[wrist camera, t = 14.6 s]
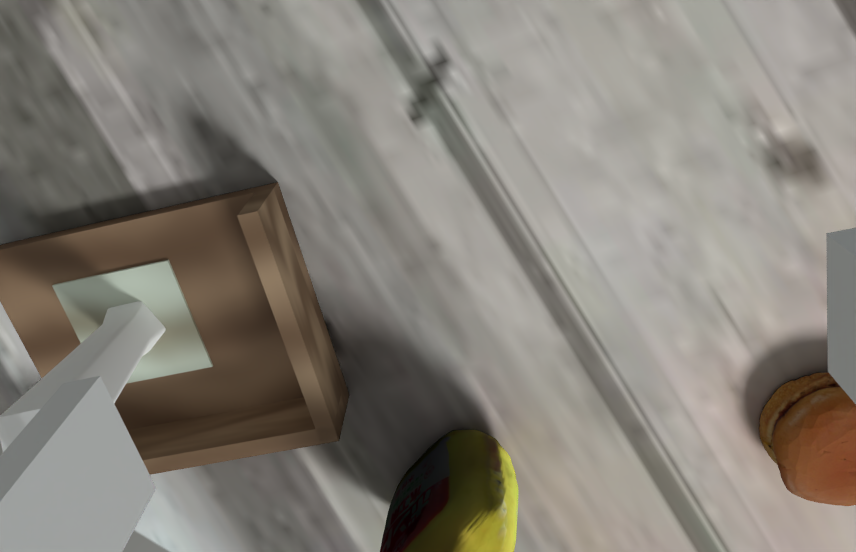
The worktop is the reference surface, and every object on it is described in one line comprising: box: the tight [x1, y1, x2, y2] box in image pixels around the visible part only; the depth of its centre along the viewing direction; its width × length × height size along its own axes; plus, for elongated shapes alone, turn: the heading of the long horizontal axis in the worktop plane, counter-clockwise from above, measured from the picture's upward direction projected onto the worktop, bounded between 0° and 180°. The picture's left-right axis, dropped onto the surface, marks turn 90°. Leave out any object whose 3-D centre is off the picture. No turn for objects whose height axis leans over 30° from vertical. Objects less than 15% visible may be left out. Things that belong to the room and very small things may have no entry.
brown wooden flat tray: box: [0, 182, 349, 474], centre depth 47 cm, size 16×20×5 cm
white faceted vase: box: [0, 301, 165, 452], centre depth 41 cm, size 5×4×15 cm
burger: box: [759, 373, 856, 506], centre depth 49 cm, size 10×9×5 cm
